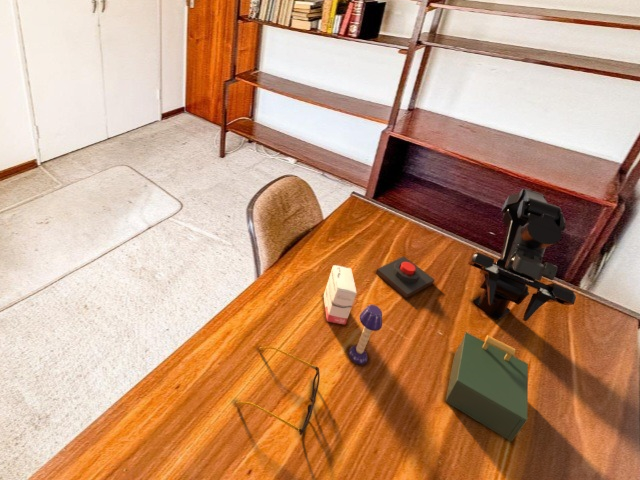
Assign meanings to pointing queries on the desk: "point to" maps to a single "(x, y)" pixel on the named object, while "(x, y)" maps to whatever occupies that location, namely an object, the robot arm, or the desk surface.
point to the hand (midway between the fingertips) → (507, 312)
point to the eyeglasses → (313, 399)
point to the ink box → (339, 294)
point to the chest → (480, 406)
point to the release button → (407, 268)
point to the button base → (404, 278)
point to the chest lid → (494, 374)
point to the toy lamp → (366, 332)
